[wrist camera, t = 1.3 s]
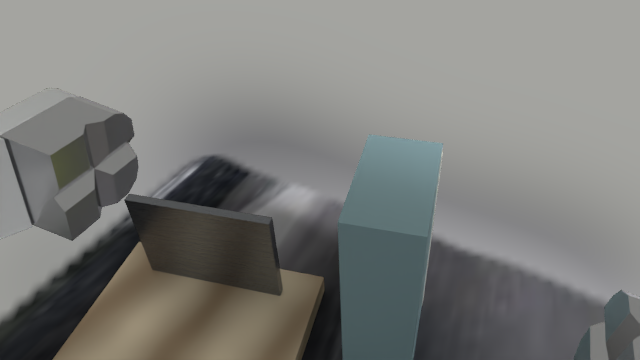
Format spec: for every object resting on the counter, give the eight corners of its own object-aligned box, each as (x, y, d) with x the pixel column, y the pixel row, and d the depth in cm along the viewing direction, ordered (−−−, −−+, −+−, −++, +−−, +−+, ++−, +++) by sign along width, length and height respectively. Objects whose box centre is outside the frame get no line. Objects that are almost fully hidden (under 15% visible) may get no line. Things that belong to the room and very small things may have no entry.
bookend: (290, 271, 37) (280, 200, 33) (280, 296, 36) (268, 224, 31) (166, 248, 40) (142, 178, 35) (152, 269, 38) (124, 199, 33)
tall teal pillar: (422, 302, 36) (444, 142, 27) (408, 396, 31) (428, 237, 22) (365, 291, 37) (368, 133, 28) (342, 381, 32) (336, 222, 23)
